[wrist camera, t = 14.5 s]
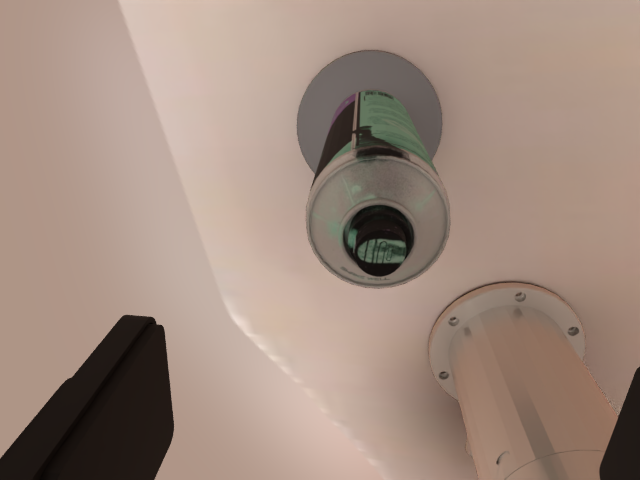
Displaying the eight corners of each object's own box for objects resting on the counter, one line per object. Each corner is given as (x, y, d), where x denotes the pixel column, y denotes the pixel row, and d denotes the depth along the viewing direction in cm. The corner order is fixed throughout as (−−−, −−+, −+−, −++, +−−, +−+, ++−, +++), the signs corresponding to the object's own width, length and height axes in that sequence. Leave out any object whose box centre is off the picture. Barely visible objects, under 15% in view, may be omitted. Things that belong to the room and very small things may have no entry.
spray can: (318, 109, 34) (266, 213, 16) (392, 74, 32) (431, 143, 14) (349, 179, 36) (336, 346, 17) (421, 149, 34) (489, 294, 16)
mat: (428, 195, 37) (431, 201, 36) (297, 186, 38) (295, 192, 36) (449, 54, 33) (452, 55, 32) (301, 46, 34) (298, 47, 32)
